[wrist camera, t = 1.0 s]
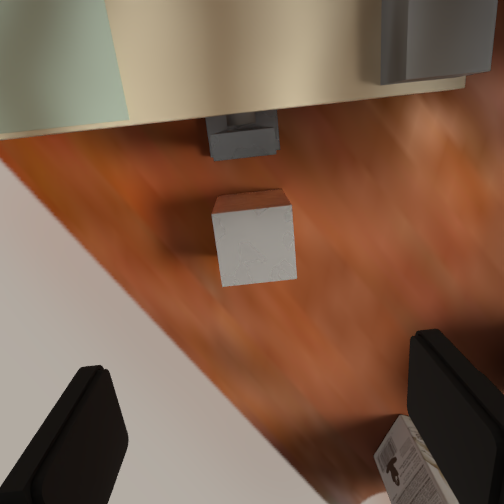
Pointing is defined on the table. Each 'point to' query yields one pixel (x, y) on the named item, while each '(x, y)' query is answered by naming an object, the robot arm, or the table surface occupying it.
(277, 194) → the block
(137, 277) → the table surface
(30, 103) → the beam
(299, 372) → the table surface
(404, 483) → the coffee box
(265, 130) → the stand
